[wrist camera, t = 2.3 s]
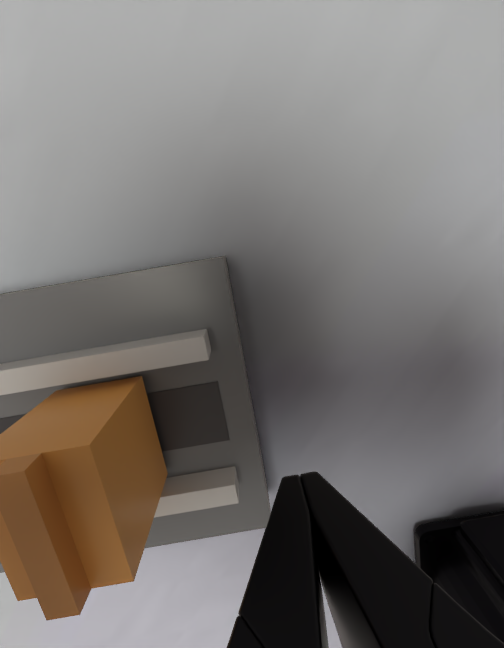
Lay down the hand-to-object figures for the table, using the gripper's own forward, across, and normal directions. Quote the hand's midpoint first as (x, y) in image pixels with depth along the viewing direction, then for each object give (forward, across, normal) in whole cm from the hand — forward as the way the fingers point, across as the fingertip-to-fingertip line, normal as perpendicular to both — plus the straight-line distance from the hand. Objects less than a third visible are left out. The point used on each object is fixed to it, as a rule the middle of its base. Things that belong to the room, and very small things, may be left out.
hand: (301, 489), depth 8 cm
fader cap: (+4, +6, 0) cm, 7 cm away
